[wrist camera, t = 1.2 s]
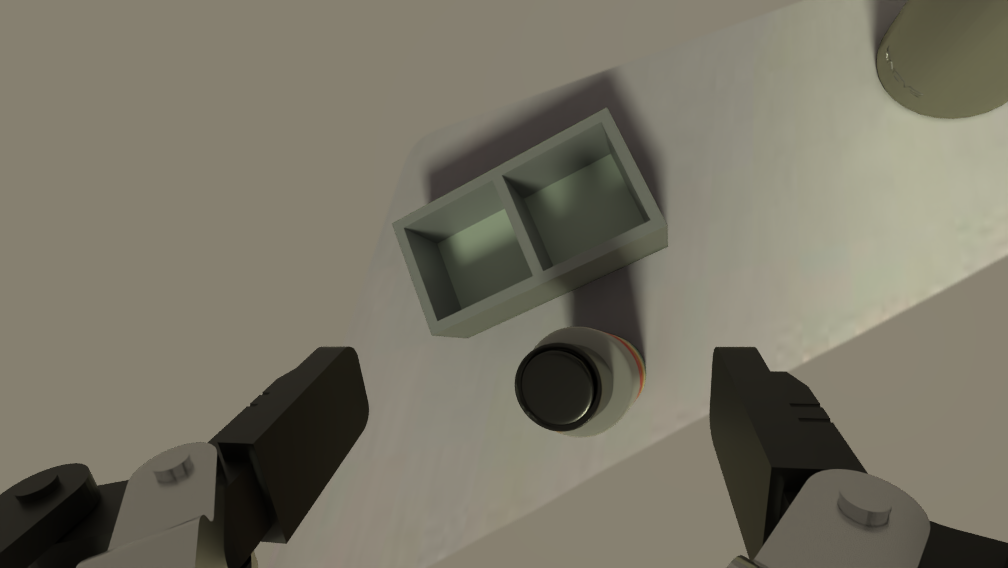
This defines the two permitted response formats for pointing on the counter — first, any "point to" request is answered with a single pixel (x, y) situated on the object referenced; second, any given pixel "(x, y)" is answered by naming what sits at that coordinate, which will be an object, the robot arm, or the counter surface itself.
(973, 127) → the counter surface
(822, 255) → the counter surface
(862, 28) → the counter surface
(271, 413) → the robot arm
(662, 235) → the box
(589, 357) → the lotion bottle
